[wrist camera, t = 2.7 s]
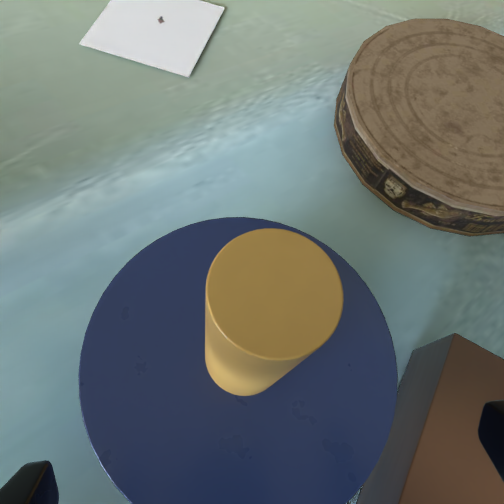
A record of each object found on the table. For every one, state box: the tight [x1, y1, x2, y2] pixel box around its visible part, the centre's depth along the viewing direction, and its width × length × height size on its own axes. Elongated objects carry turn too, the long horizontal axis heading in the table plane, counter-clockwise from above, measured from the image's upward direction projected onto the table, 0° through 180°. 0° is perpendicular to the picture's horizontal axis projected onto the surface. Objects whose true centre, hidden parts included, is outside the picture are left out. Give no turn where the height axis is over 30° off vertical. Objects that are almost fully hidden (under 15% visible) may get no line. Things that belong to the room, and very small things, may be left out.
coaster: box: [79, 0, 225, 77], centre depth 29 cm, size 8×8×1 cm
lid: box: [79, 217, 398, 504], centre depth 12 cm, size 11×11×8 cm
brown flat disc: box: [334, 19, 504, 236], centre depth 27 cm, size 16×16×3 cm
